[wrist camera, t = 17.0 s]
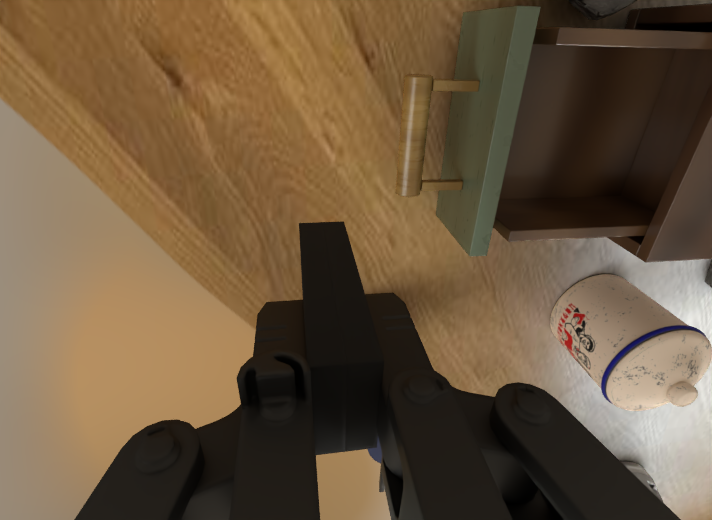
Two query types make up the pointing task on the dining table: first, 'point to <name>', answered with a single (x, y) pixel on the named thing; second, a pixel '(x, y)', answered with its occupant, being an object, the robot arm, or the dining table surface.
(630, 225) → the drawer
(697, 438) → the dining table surface
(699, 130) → the cabinet
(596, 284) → the teacup with lid
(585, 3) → the serving tray
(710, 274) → the wine bottle
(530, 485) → the robot arm
